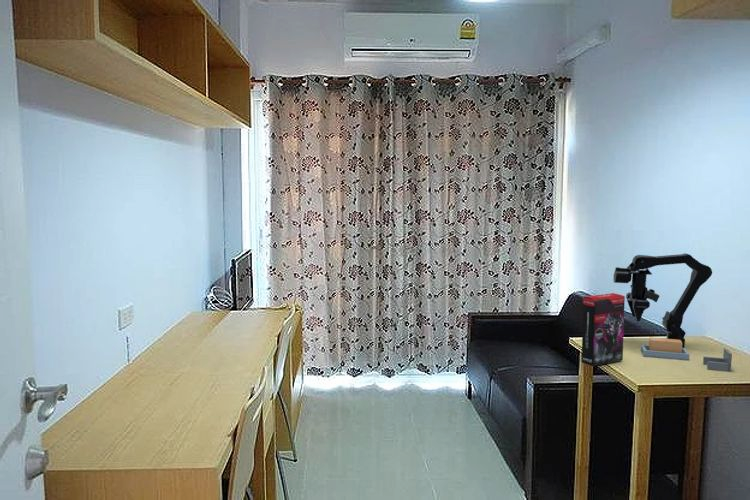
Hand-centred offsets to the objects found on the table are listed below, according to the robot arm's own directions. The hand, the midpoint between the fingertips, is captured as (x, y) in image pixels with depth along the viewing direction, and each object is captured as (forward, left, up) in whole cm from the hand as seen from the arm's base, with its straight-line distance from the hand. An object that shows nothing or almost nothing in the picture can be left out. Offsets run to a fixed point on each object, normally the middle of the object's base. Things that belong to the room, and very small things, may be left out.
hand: (636, 318), depth 267 cm
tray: (+10, -11, -12) cm, 20 cm away
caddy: (+10, -11, -12) cm, 19 cm away
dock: (+27, -23, -12) cm, 38 cm away
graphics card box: (-16, -30, -13) cm, 37 cm away
